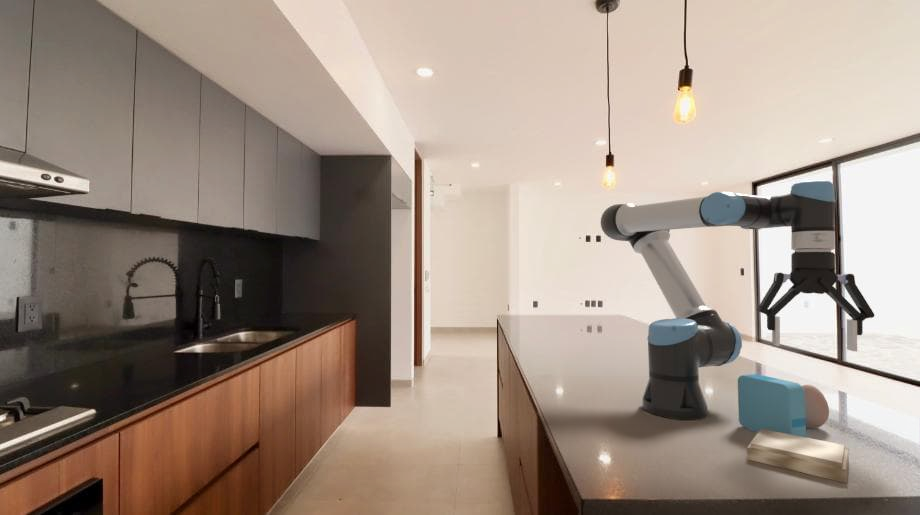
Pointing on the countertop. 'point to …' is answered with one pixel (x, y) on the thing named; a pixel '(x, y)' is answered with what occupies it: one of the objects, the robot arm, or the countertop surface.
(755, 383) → the blue box
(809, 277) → the robot arm
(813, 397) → the egg
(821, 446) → the stand
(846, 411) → the countertop surface
